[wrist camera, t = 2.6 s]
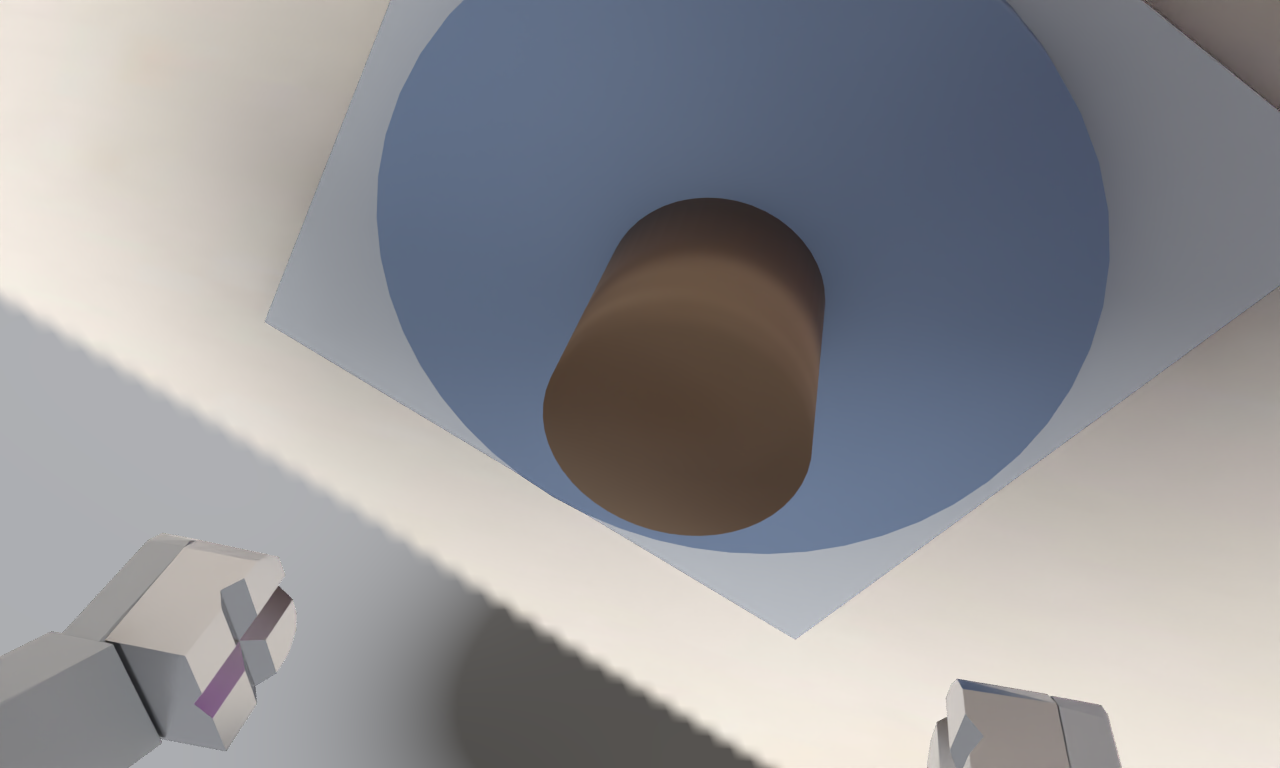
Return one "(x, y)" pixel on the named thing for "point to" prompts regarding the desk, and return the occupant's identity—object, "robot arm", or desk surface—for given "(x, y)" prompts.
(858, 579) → the mat
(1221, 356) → the desk surface
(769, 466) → the lid
